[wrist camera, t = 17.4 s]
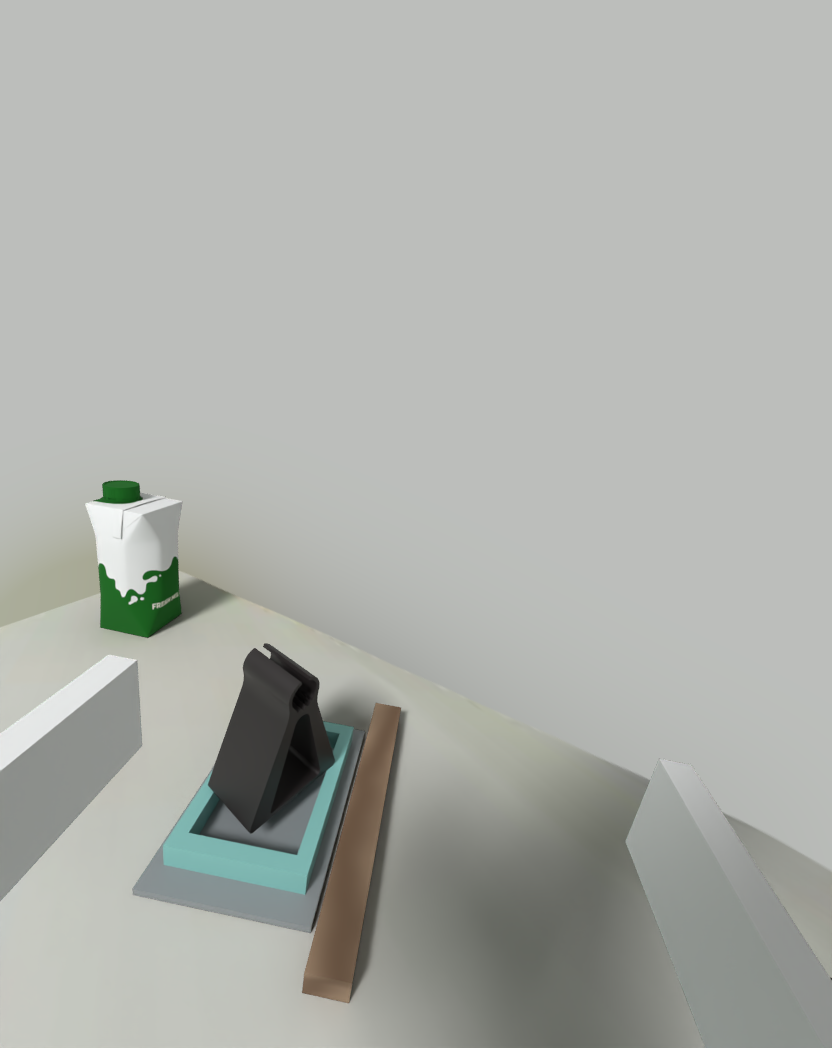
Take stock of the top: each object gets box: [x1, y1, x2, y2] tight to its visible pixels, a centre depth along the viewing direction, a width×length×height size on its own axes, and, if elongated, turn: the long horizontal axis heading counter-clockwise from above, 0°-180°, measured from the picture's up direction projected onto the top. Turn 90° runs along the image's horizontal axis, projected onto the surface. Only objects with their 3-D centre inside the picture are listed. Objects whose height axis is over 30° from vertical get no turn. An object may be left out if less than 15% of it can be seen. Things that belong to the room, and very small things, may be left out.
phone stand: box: [208, 644, 335, 834], centre depth 35 cm, size 9×6×12 cm, turn 144°
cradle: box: [133, 721, 365, 933], centre depth 38 cm, size 13×18×3 cm
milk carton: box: [85, 481, 182, 638], centre depth 57 cm, size 9×9×20 cm
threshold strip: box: [302, 703, 401, 1003], centre depth 37 cm, size 3×24×2 cm, turn 175°
